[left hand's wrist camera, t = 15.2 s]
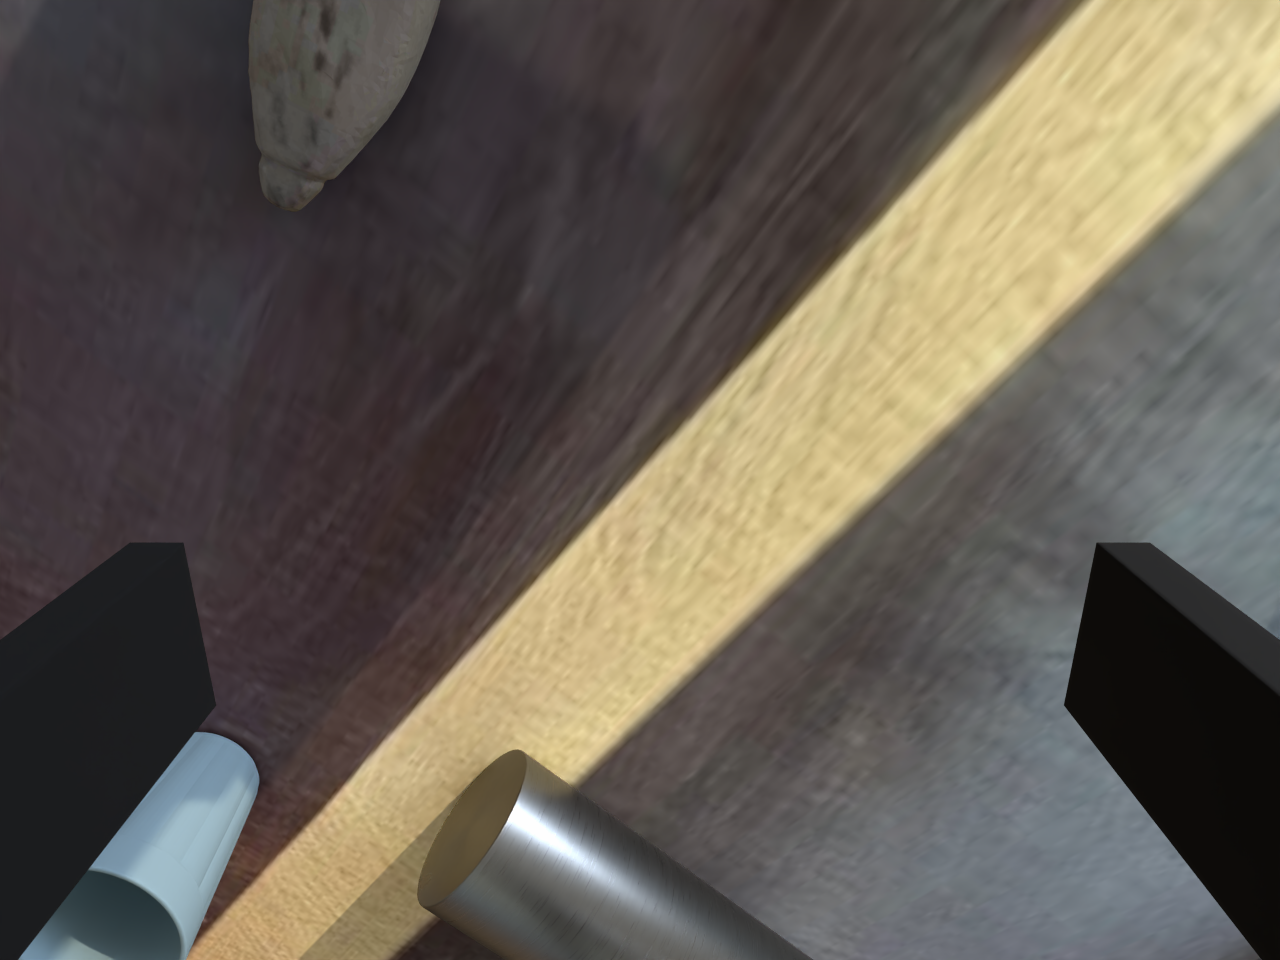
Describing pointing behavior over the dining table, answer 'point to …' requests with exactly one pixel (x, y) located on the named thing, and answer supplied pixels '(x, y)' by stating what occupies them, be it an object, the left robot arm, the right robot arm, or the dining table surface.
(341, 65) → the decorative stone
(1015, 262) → the dining table surface
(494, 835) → the rod
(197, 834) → the cup
